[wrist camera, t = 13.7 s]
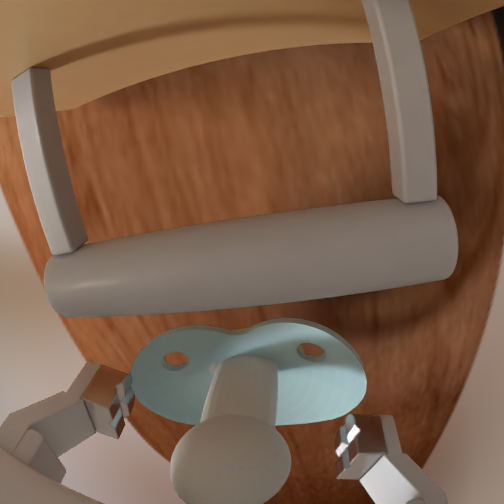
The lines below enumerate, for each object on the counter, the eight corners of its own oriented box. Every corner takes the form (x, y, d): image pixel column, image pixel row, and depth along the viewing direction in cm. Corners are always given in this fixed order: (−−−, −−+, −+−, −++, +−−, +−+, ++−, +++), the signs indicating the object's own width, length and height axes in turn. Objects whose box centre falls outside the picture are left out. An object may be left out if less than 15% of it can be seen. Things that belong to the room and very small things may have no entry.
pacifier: (354, 402, 12) (353, 285, 9) (368, 538, 6) (402, 479, 4) (190, 412, 13) (136, 309, 11) (155, 532, 7) (50, 456, 5)
